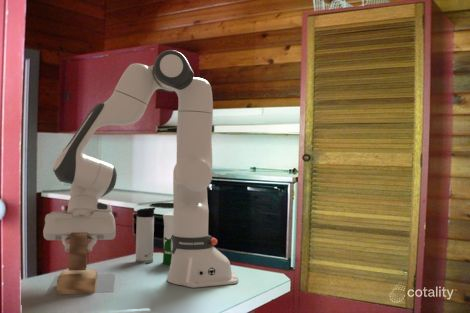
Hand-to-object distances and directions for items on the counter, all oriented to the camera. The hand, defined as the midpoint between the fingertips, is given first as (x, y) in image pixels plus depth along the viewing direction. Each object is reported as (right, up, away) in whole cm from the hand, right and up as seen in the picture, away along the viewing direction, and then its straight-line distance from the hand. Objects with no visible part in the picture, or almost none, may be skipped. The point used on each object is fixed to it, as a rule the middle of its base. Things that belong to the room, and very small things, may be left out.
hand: (78, 250), depth 132 cm
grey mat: (-1, -12, +6) cm, 13 cm away
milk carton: (+23, -12, +38) cm, 46 cm away
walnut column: (0, -5, +1) cm, 5 cm away
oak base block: (0, -11, +1) cm, 11 cm away
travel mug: (+11, -12, +38) cm, 42 cm away
